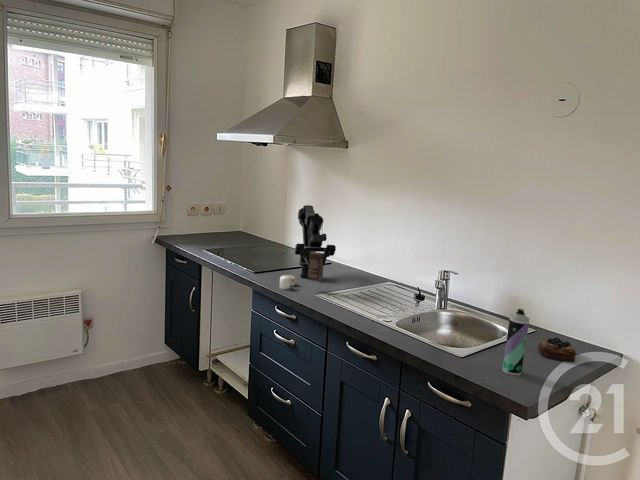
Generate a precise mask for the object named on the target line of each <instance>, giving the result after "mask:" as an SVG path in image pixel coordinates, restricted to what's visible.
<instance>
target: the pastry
mask: <svg viewBox="0 0 640 480" xmlns="http://www.w3.org/2000/svg"><path fill="white" fill-rule="evenodd" d="M538 350H539V353H540V354H541V355H540V357H543V358H545V359H550V360H555V361H559V362H560V361H561V362H568V363H569V362H570V363H574V362H575V359H576V350H575V349H574V348H573V346H572V344H571V343H570V341H567V340H566V341H565V340H564V339H563V340H562V339H561V338H560V337H558V336H556V337H553V338H546V337H544V338H542V339H541V340H540V342H539V344H538Z"/></svg>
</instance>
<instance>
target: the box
mask: <svg viewBox="0 0 640 480" xmlns="http://www.w3.org/2000/svg"><path fill="white" fill-rule="evenodd" d="M323 261H324V252H310V253H309V265H308V278H307V279H313V280H322V279H323V276H324V275H323V274H324V265H323Z"/></svg>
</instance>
